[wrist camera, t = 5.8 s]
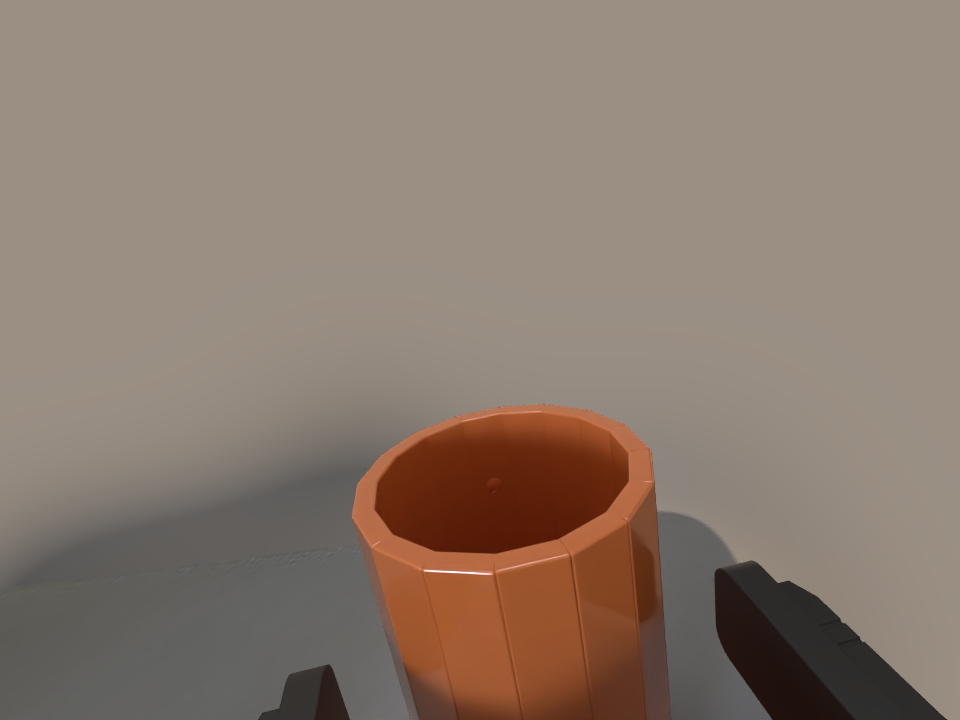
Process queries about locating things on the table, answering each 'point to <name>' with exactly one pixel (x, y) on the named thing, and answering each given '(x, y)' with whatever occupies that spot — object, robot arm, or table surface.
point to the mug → (519, 567)
